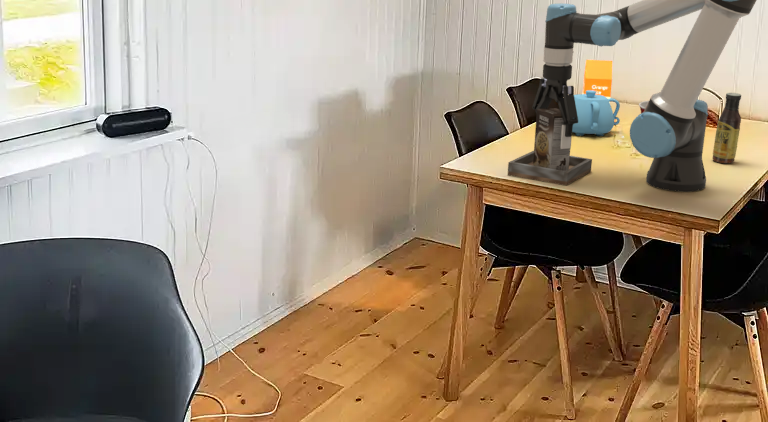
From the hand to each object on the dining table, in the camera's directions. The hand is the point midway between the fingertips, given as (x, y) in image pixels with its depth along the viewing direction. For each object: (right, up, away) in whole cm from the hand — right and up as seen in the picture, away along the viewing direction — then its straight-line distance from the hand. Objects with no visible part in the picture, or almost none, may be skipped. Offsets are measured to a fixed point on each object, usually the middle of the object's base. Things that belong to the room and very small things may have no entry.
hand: (552, 142), depth 269 cm
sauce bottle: (+52, -4, +19) cm, 56 cm away
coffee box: (0, -7, +2) cm, 8 cm away
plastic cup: (+38, +3, +40) cm, 55 cm away
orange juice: (+26, +13, +70) cm, 76 cm away
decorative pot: (+20, +6, +51) cm, 55 cm away
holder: (0, -8, +3) cm, 9 cm away
